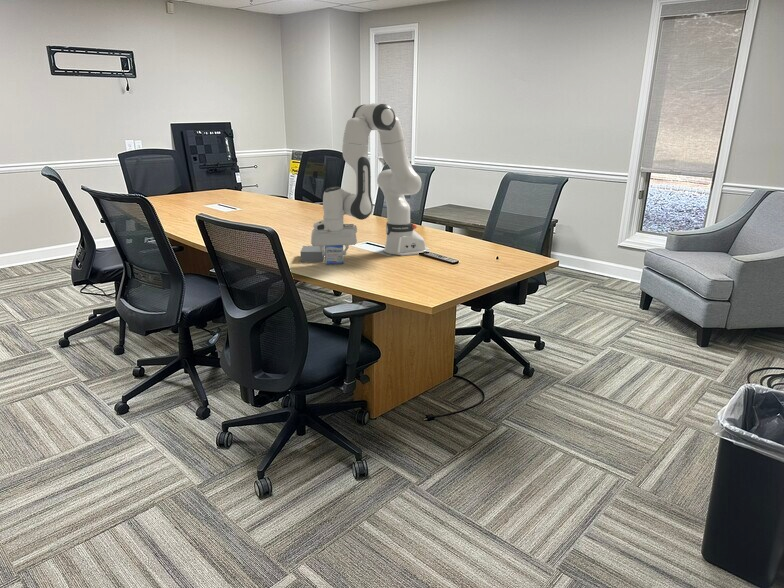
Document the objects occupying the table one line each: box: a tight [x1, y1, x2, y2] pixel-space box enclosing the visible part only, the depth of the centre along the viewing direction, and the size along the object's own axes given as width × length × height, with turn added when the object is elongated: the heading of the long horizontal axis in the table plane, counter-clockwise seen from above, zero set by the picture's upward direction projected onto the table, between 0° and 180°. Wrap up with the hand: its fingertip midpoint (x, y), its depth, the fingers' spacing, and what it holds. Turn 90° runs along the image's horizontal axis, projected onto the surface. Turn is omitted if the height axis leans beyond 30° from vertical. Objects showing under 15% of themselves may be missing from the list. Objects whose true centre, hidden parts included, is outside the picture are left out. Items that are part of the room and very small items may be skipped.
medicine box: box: [324, 245, 345, 266], centre depth 245 cm, size 8×4×9 cm, turn 104°
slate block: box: [300, 245, 325, 263], centre depth 253 cm, size 10×12×5 cm
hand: (334, 255), depth 245 cm, fingers closed on medicine box, 8 cm apart
